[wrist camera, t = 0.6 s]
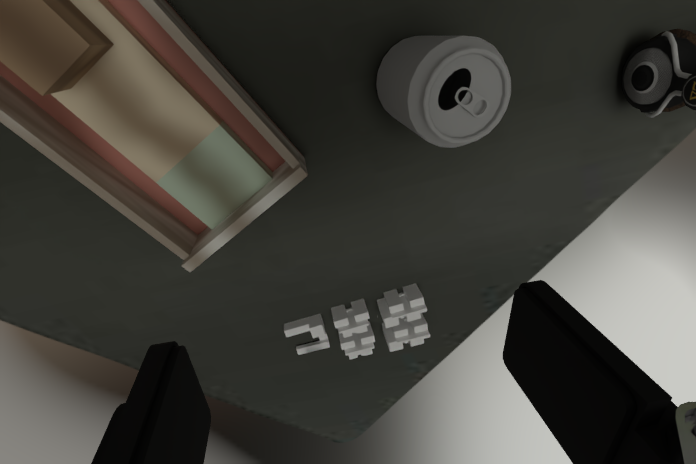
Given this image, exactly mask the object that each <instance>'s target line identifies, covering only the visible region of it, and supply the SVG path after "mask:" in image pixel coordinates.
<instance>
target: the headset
mask: <svg viewBox="0 0 696 464" xmlns="http://www.w3.org/2000/svg"><path fill="white" fill-rule="evenodd" d="M621 81H622V90H623V92H624V95H625V97H626V99H627V101H628V102H629V103H630V104H631V105H632V106H633V107H635V108H638V109H640V110H641V112H645V113H646V115H647V116H648V117H651V118H653V117H655V116H656V115H658V114H660V113H661V112H669V111H673V110H675V109H678V108H681V107H683V106H685V105H686V106H688V107H689V108H691V109H693V110H696V34H694V33H692V32H691V31H687V30H682V29H674V30H670V31H665V32H662V33H660V34H658V35H657V36H655V37H654V38H652V39H650V41H646V42H644V43H643V44H641V45H640V46H638V47H636V48H635V50H634V51H633V52H632V53H631V54H630V55H629V57H628V59H627V61H626V63H625V65H624V67H623V73H622V78H621ZM653 111H655V112H654V113H651V112H653Z"/></svg>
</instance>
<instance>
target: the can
mask: <svg viewBox="0 0 696 464" xmlns="http://www.w3.org/2000/svg"><path fill="white" fill-rule="evenodd" d="M376 87H377V92H378V98H379V100H380V102H381V104H382V106H383V107H384V109H385V110H386V111H387V112H388V113H389V114H390V115H391V116H392V117H394V118H395V119H396V120H398V121H399V122H401V123H402V124H403V125H405V126H406V127H408V128H409V129H410V130H412V131H413V132H415V133H416V134H417V135H419V136H420V137H422V138H423V139H424V140H426V141H427V142H429V143H432V144H434V145H437V146H439V147H452V148H455V147H459V146H462V145H466V144H469V143H471V142H474V141H477V140H479V139H480V138H482V137H484V136H485V135H487V134H488V133H490V131H491V130H492V129H493V128H494V127H495V126H496V125H497V124H498V123H499V122H500V120H501V118H502V117H503V115H504V113H505V111H506V109H507V106H508V103H509V99H510V96H511V78H510V75H509V71H508V68H507V65H506V64H505V63H504V59H503V57H502V56H501V54H500V53H499V52H498V51H497V49H496V48H495V47H494V46H493V45H492V44H490V43H489V42H487V41H485V40H483V39H481V38H480V37H472V36H413V37H409V38H406V39H403V40H401V41H400V42H398V43H397V44H396V45H394V46H393V47H392V48H391V49H390V50H389V51H388V53H387V54H386V55H385V56H384V58H383V60H382V62H381V65H380V67H379V69H378V74H377V83H376Z"/></svg>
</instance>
